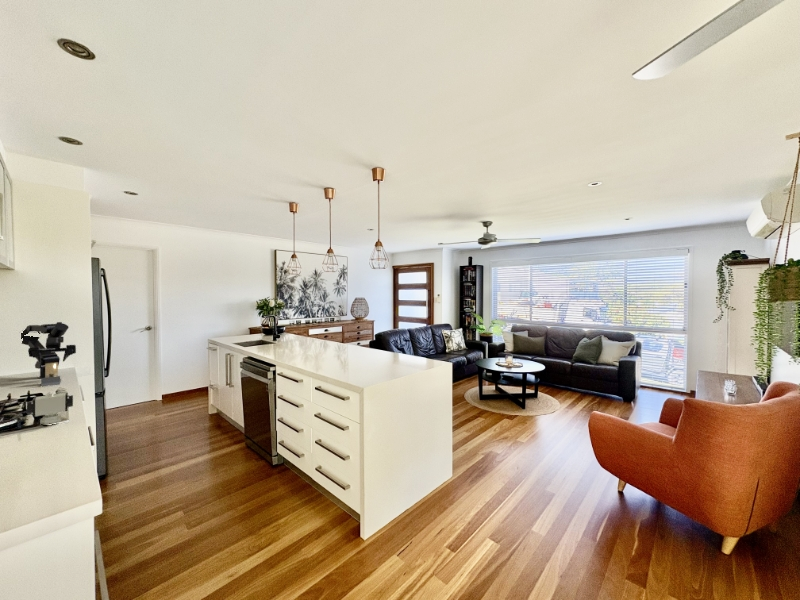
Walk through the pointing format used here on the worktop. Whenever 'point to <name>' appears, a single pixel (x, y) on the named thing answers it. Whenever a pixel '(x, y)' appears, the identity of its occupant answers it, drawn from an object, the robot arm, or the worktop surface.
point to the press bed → (50, 381)
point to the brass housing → (51, 369)
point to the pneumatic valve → (50, 407)
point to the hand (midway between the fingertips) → (51, 362)
